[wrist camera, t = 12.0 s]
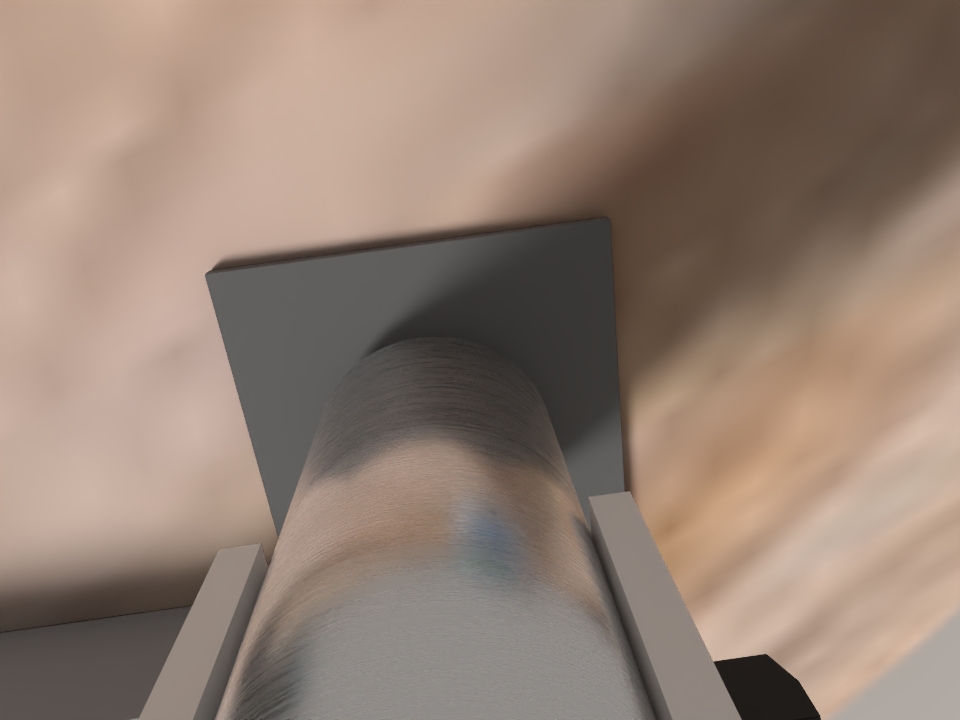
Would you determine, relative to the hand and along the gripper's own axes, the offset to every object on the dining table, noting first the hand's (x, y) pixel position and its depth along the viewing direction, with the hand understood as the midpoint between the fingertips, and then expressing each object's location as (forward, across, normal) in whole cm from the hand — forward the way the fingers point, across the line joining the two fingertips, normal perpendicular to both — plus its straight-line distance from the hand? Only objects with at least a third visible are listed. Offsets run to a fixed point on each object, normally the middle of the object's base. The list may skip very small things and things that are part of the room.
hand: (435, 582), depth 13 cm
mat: (+7, 0, 0) cm, 7 cm away
